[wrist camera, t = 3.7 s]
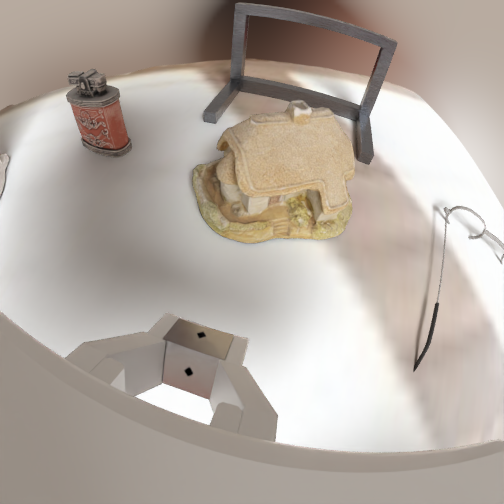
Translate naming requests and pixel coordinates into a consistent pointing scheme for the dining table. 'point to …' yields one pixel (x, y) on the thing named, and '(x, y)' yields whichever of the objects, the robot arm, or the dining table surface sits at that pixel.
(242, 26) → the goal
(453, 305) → the dining table surface
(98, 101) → the lighter
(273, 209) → the ceramic model
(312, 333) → the dining table surface
